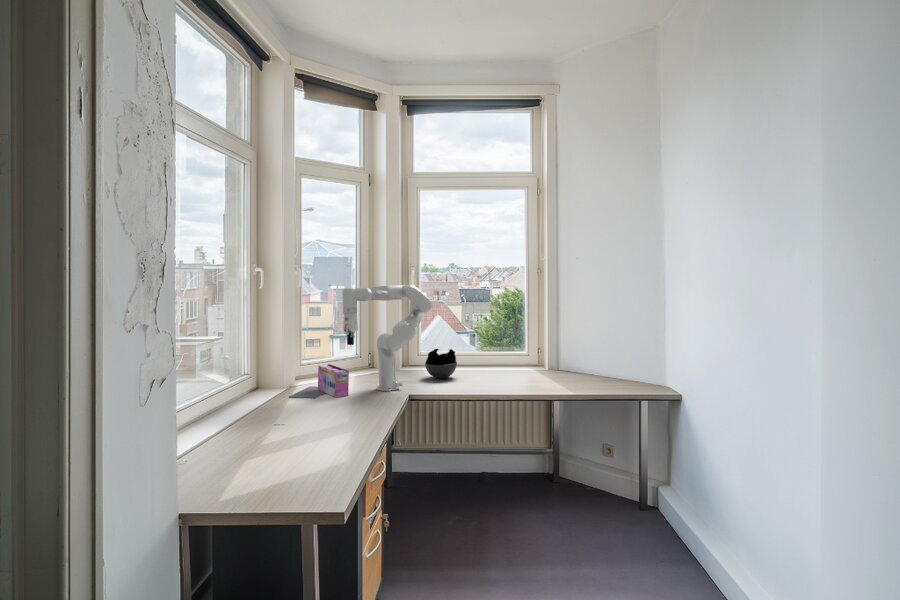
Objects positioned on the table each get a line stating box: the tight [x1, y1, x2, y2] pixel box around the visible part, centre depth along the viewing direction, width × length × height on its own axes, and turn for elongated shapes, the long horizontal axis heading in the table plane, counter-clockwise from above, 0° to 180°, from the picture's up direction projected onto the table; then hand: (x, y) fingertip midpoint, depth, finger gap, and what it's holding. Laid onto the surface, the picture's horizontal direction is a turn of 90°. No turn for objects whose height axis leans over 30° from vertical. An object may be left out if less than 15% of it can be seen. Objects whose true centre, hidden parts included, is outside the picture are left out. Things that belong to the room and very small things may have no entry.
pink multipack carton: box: [317, 363, 350, 398], centre depth 277 cm, size 24×8×14 cm, turn 39°
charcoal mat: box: [288, 385, 326, 399], centre depth 279 cm, size 15×25×1 cm, turn 170°
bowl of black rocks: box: [424, 348, 458, 380], centre depth 313 cm, size 20×20×19 cm
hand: (350, 344), depth 274 cm, fingers closed
